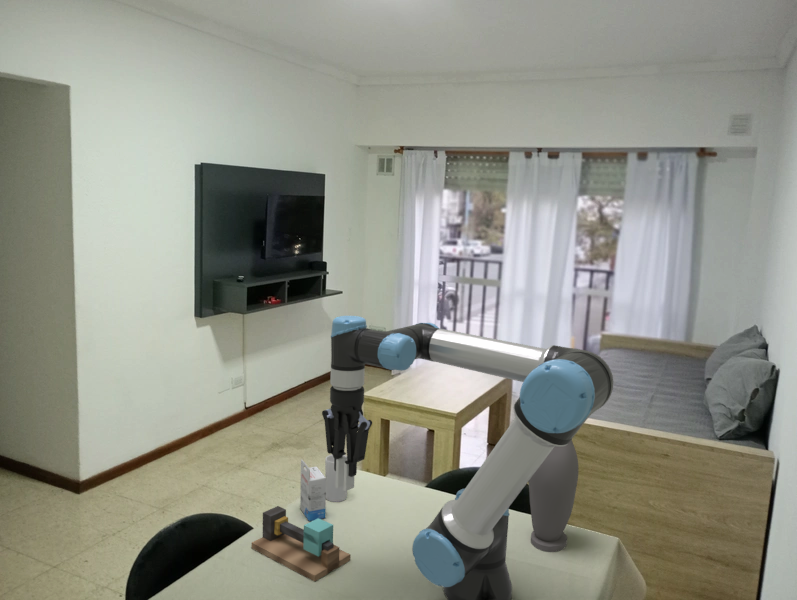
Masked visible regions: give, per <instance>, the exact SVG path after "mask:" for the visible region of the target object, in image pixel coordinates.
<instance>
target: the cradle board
mask: <svg viewBox="0 0 797 600" xmlns="http://www.w3.org/2000/svg"><path fill="white" fill-rule="evenodd" d="M303 545H304V528H302V527H299V526H297V525H295V524H292V523H290V522H289V517H287V509H286V508H284V507H281V506H279V505H277V506H275V507H273V508H270V509H268V510H266V511H263V512H262V536H261V537H259V538H258V539H256V540H254V541H252V542H251V549H252V550H254V551H256V552H258V553H259V554H262V555H263V556H266V557H267V558H269V559H271V560H273V561H274V562H277V563H278V564H280V565H283V566H285V567H286V568H288V569H290V570H292V571H293V572H296V573H298V574H299V575H301V576H303V577H305V578H307V579H309V580H311V582H312V581H313V582H317V581H319V580H320V579H322V578H323V577H325V576H327V575H329V574H330V573H331V572H334V571H336V569H338V568H341V567H342V566H343V565H345V564H347V563H348V562H350V561H351V555H352V554H350V553H348V552H347V551H344V550H341V549H340V546H337V545H335V544H334V542H333V543H331V542H329V541H326V542H324V543H322V551H321V555H320V556H319V557H318V556H316V555H314V554H312V553H310V552H308V551H306V550H304V549H303Z"/></svg>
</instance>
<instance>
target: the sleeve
mask: <svg viewBox="0 0 797 600" xmlns="http://www.w3.org/2000/svg"><path fill="white" fill-rule="evenodd" d="M303 529H304V545H303V549H304V550H306V551H308V552H310V553H312V554H314V555H316V556H318V557H319V556H320V555H321V551H322V543H324V542H326V541H329V542H331V543H334V524H333V523H330V522H328V521H325V520H324V519H319V518H318V519H316V520H313V521H308V523H306V524H304V525H303Z"/></svg>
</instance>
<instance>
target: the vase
mask: <svg viewBox="0 0 797 600" xmlns="http://www.w3.org/2000/svg"><path fill="white" fill-rule="evenodd" d="M572 439H573V438H572ZM572 439H571V440H570V442H569V443H568V444H567V445H566V446H561V447H554V448H553V449H552V451H551V452H550V453H549V455H548V456H547V457H546V459H545V460H544V461H543V463H542V464H541V465H540V467H539V468H538V469H537V471H536V472H535V473H534V475H533V476H532V477H531V479H530V480H529V481H528V482H527V483H528V492H529V505H530V514H531V515H530V516H531V525H532V529H533V530H532V531H531V534H530V543H531V545H532V546H533V547H534V548H535V549H537V550H539V551H543V552H548V553H554V552H555V553H556V552H560V551H562V550H564V549H565V548H566V547H567V545H568V536H567V533H565V529H566V527H567V525H568V523H569V520H570V518H571V515H572V513H573V512H572V511H573V509H574V502H575V499H576V491H577V486H578V480H579V459H578V454H577V451H576V447H575V445H574V443H573V442H574V441H573V440H572Z"/></svg>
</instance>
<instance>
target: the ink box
mask: <svg viewBox="0 0 797 600" xmlns="http://www.w3.org/2000/svg"><path fill="white" fill-rule="evenodd" d="M299 496H300V501H299V503H300V504H299V507H300V510H301V511H302V513H303V515H304V516H305V518H306V519H307V521H308V522H311V521H313V520H316V519H318V518H319V519H321V520H324V519H326V511H327V510H326V508H327V507H326V503H327V501H326V500H327V499H326V477H325V474H324V473H322V471H321V470H320V468H318V466H312V467H309V466H308V464H307V463H306V462H305V461H304V460H303V459H302V458H301V459H300V495H299Z"/></svg>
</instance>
